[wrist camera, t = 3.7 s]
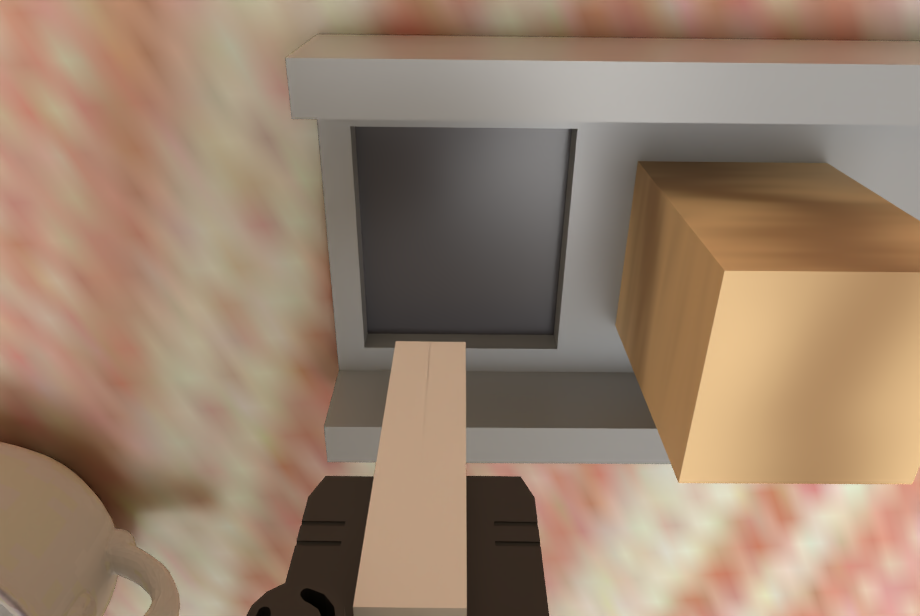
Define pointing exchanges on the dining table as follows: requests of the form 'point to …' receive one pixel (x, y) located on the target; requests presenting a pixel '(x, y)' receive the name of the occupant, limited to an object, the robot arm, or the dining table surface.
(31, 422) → the dining table surface
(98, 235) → the dining table surface
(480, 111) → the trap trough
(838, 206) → the wood block
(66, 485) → the teacup
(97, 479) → the dining table surface
